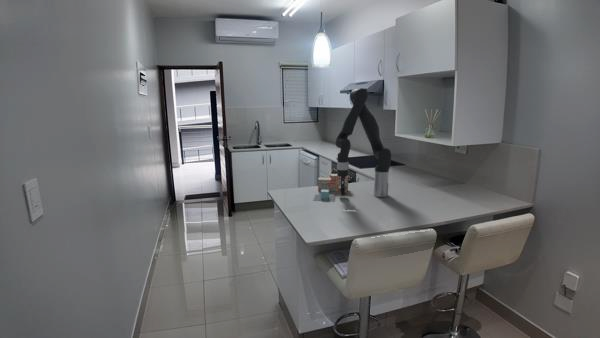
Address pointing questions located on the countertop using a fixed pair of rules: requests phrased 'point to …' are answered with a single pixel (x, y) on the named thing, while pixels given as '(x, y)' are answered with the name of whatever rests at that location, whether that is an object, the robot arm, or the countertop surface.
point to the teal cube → (324, 194)
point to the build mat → (331, 199)
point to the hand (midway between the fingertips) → (342, 193)
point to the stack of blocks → (331, 183)
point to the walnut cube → (345, 190)
